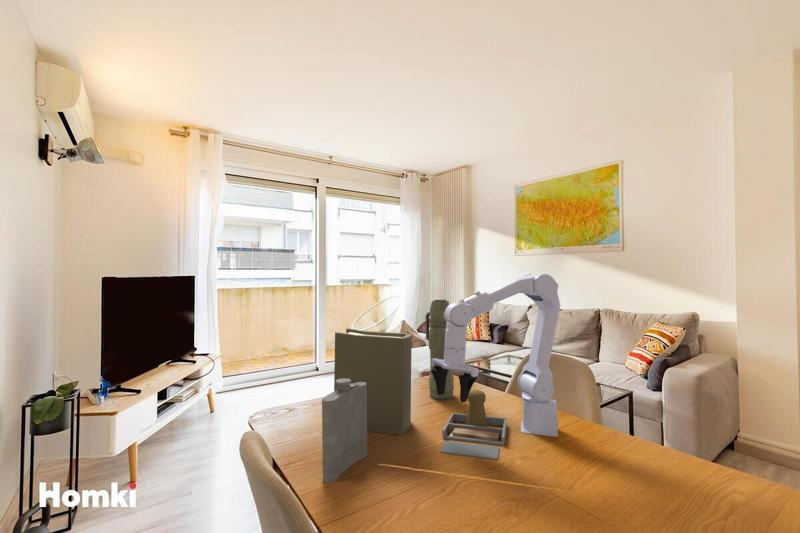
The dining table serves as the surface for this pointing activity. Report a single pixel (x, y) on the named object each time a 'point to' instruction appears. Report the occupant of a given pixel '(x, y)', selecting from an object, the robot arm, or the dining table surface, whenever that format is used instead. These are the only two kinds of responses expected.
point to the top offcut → (475, 434)
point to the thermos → (438, 346)
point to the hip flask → (343, 428)
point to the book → (378, 375)
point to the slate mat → (470, 450)
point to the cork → (476, 408)
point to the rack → (475, 428)
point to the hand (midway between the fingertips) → (451, 397)
